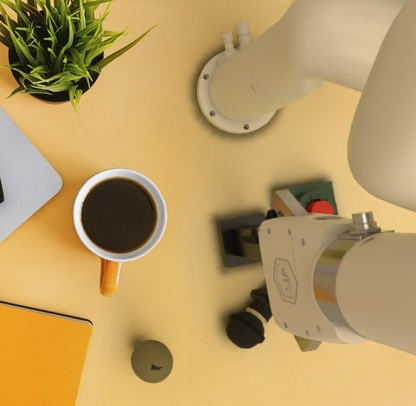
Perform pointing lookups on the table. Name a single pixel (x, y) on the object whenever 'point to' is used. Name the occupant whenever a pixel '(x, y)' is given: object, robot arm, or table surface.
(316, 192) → the button box
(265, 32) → the robot arm
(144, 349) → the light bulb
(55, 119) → the table surface
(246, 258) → the switch pillar
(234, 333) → the microphone
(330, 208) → the button
